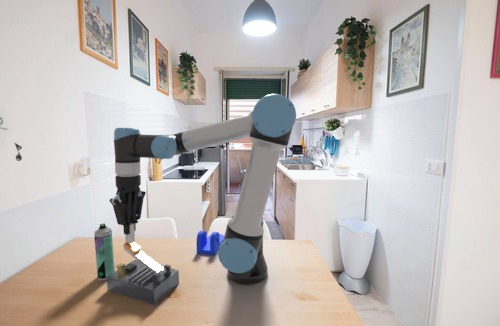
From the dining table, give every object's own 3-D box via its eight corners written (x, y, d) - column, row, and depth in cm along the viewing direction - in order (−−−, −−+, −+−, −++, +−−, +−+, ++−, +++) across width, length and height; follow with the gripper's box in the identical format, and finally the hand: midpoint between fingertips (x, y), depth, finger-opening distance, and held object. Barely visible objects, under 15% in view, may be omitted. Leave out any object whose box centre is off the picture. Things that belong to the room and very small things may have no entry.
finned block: (179, 283, 87) (178, 259, 86) (154, 305, 76) (153, 278, 75) (135, 272, 94) (134, 250, 93) (107, 290, 83) (105, 266, 82)
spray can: (109, 270, 95) (105, 220, 93) (117, 274, 92) (114, 223, 90) (94, 277, 91) (90, 225, 88) (102, 282, 88) (98, 228, 85)
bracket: (214, 255, 107) (214, 235, 106) (196, 253, 109) (196, 234, 108) (226, 238, 125) (226, 221, 124) (211, 237, 126) (210, 220, 125)
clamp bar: (166, 273, 83) (168, 267, 82) (160, 278, 80) (162, 272, 79) (129, 245, 88) (131, 239, 87) (122, 249, 85) (124, 243, 84)
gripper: (135, 170, 89) (136, 232, 92) (102, 176, 77) (105, 247, 80) (151, 172, 87) (152, 236, 90) (119, 178, 75) (122, 252, 78)
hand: (130, 241), depth 85 cm, fingers closed
